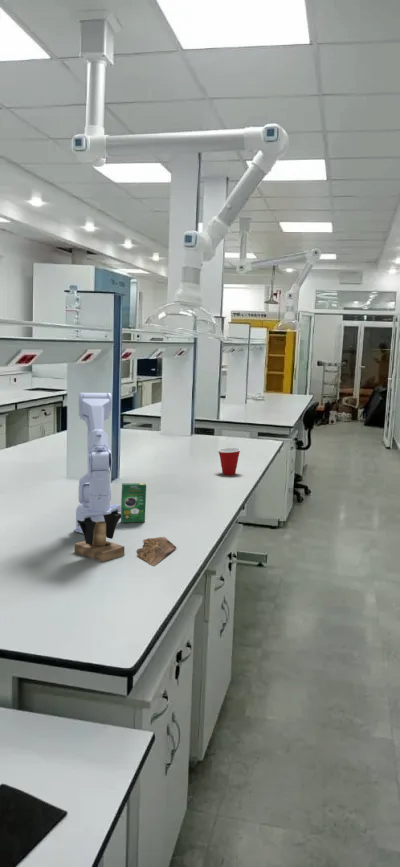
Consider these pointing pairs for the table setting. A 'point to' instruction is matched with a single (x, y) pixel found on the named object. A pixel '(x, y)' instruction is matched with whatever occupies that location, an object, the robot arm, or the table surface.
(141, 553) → the wooden fragment
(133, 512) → the coffee box
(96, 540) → the peg
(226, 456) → the plastic cup
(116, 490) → the table surface
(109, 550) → the board
